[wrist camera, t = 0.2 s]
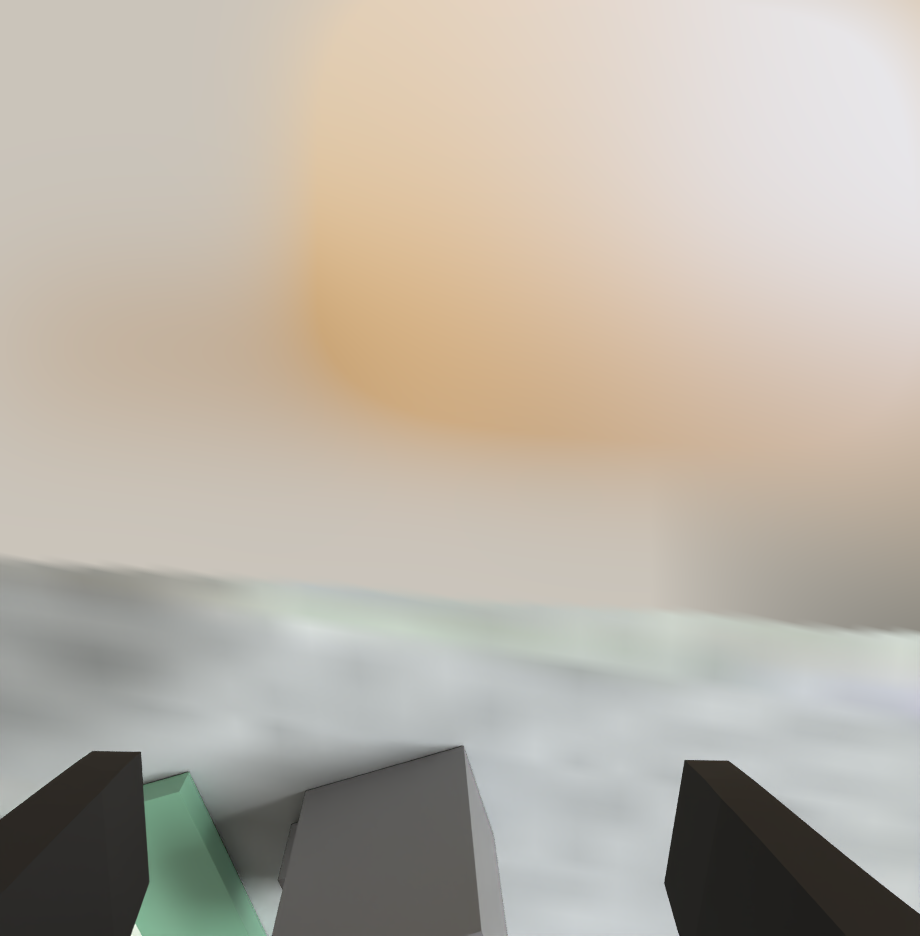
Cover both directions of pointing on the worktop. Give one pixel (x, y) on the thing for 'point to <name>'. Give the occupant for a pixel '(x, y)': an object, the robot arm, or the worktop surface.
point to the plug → (393, 856)
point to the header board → (189, 869)
